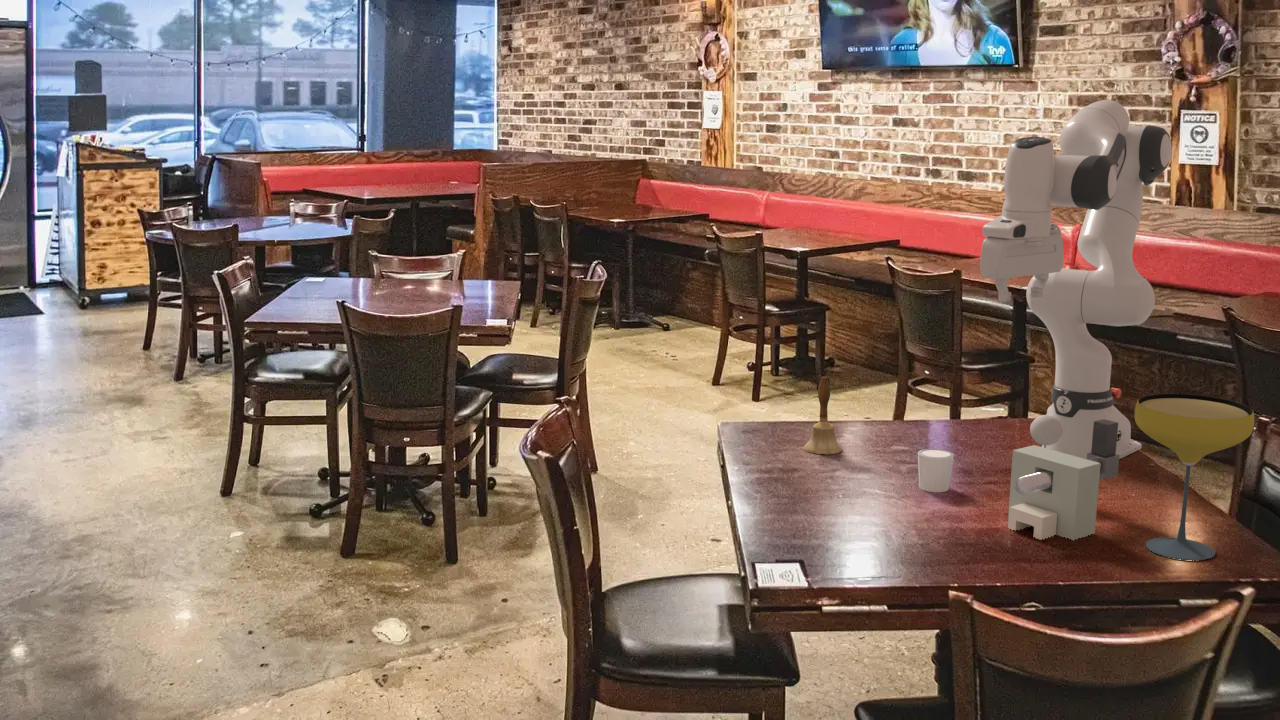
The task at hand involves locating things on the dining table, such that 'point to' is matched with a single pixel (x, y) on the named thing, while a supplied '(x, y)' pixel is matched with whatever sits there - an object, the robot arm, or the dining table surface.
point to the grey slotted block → (1060, 488)
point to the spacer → (1033, 520)
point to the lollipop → (1046, 430)
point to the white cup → (935, 469)
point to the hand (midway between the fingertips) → (1020, 299)
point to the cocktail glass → (1191, 447)
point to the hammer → (1100, 453)
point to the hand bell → (823, 426)
